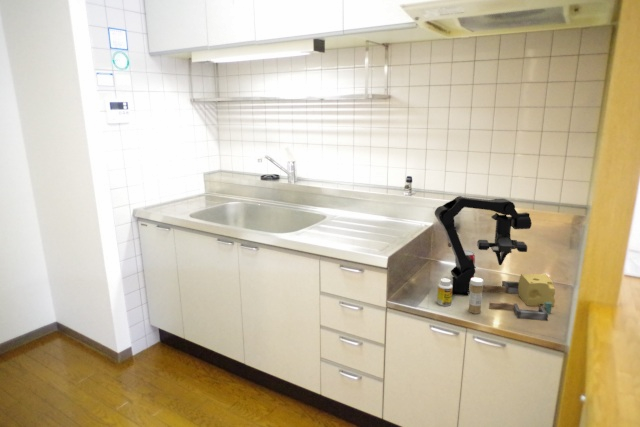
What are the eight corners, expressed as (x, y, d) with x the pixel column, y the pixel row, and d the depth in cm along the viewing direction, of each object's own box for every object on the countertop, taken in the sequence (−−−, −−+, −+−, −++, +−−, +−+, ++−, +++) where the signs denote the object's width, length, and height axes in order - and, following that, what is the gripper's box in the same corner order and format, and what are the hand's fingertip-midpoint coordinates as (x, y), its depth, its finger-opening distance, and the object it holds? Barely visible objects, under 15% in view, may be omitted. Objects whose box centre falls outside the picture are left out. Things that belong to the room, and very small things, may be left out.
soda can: (475, 282, 191) (477, 255, 188) (459, 282, 191) (461, 255, 188) (470, 276, 198) (472, 249, 194) (455, 276, 198) (456, 250, 195)
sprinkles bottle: (478, 308, 166) (480, 276, 163) (482, 314, 162) (485, 281, 158) (466, 308, 166) (468, 276, 163) (470, 314, 162) (473, 281, 159)
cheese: (554, 307, 166) (557, 283, 164) (525, 306, 167) (528, 282, 165) (543, 295, 176) (546, 273, 174) (516, 295, 177) (519, 272, 175)
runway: (492, 315, 160) (492, 306, 159) (480, 284, 188) (481, 276, 187) (555, 321, 155) (556, 311, 154) (534, 288, 183) (535, 279, 182)
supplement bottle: (443, 307, 167) (444, 283, 165) (434, 302, 172) (435, 278, 170) (454, 304, 170) (456, 281, 167) (445, 299, 175) (446, 276, 172)
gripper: (482, 234, 169) (479, 270, 173) (532, 236, 165) (528, 273, 169) (478, 226, 179) (475, 261, 183) (525, 228, 175) (522, 263, 179)
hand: (499, 264), depth 178 cm, fingers closed
